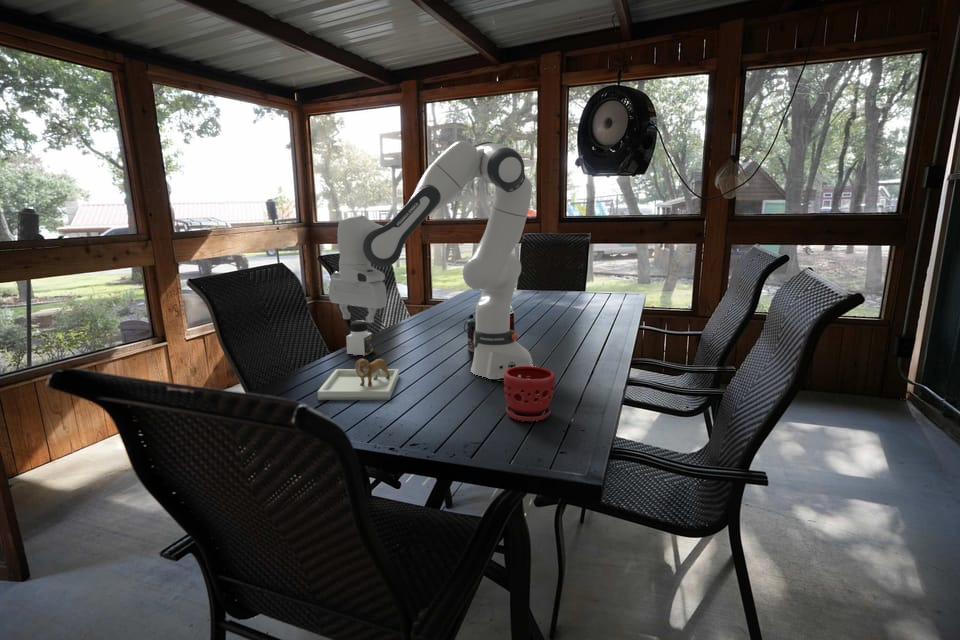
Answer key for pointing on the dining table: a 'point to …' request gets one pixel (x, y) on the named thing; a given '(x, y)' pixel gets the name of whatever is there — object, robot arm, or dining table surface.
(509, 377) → the plant pot
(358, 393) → the tray
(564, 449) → the dining table surface
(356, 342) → the medicine bottle
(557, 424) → the dining table surface
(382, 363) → the lion figurine
